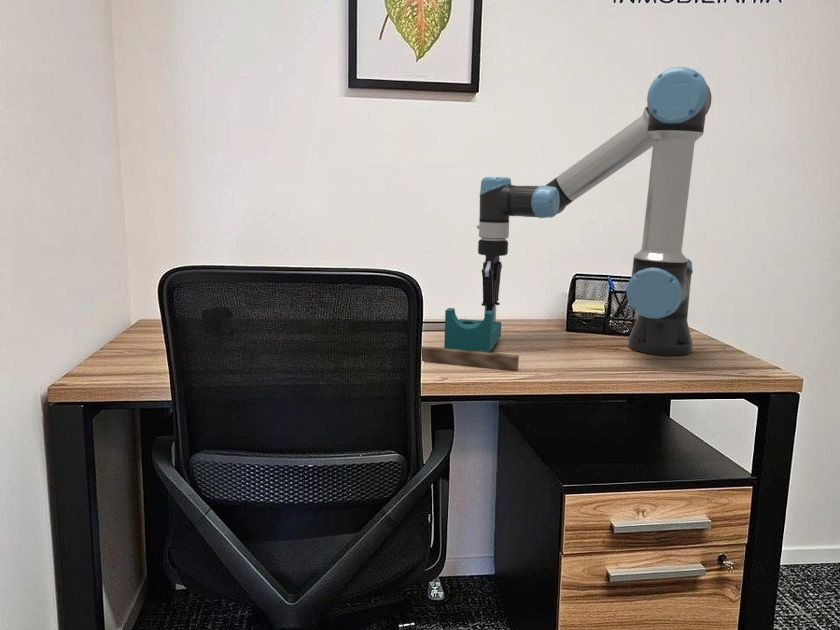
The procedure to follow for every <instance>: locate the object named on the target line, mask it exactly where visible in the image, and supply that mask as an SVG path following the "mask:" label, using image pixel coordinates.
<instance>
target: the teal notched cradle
mask: <svg viewBox="0 0 840 630" xmlns="http://www.w3.org/2000/svg"><path fill="white" fill-rule="evenodd" d="M444 312H445V313H444V314H445V315H444V343H443V348H446V349H457V350H467V351H478V352H488V353H491V351H492V349H493V348H494V346H495V345H496V344H497V342H498V340H499V339H500V338H501V336H502V321H496V322H494V321H493V315H494V311H487V312H486V313H485V312H484V315H485V317H484V316H483V320H479V319H476V320H475V319H463V318H462V319H461V318H458V317H457V314H456V309H455V308H452V307H448V308H447V309H446V310H445V311H444Z"/></svg>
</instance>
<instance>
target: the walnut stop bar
mask: <svg viewBox="0 0 840 630" xmlns="http://www.w3.org/2000/svg"><path fill="white" fill-rule="evenodd" d="M421 347H422V361H421V362H424V363H425V362H427V363H435V364H444V365H445V364H446V365H455V366H465V367H475V368H483V369H485V368H486V369H492V370H493V369H495V370H504V371H514V372H518V370H519V360H520V356H519V355H517V354H507V353H497V352H487V351H475V350H471V351H467V350H457V349H446V348H444V347H433V346H424V345H423V346H421Z"/></svg>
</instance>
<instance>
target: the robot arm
mask: <svg viewBox="0 0 840 630" xmlns="http://www.w3.org/2000/svg"><path fill="white" fill-rule="evenodd" d="M646 102H647V104H646V105H647V106H646V107H645V108H644V109H643V112H642V115H641V116H640V117H638V118H636V119H635V120H634V121H633V122H631V123H630V124H628V125H627V126H626V127H624V128H623V129H621V130H620V131H618V132H617V133H616V134H615V135H613V136H612V137H610V138H609V139H608V140H606V141H605V142H603V143H601V144H600V145H599V146H597V148H595V149H594V150H592V151H591V152H589V153H588V154H587V155H586V156H584V157H582V158H581V159H579V160H578V161H577V162H576V163H574V164H572V165H571V166H570V167H569V168H567V169H566V170H564V171H563V172H562V173H560V174H559V175H558V176H556V177H555V178H554V179H552V180H551V181H549V182H548V183H547V184H545V185H514V184H512V179H511V178H510V177H507V176H506V177H505V176H504V177H503V176H486V177H483V178H482V179H481V182H480V191H479V219H478V221H479V222H478V223H479V224H478V225H476V229H477V230H478V237H479V238H480V239H479V240H478V242H477V243H478V244H477V253H478V254H479V255H481V256H485V258H484V261H483V265H482V269H481V275H482V303H481V307H484V316H483V318H484V317H485V313H486V312H487V311H494V315H493V321H494V322H497V321H496V320H497V306H500V304H501V303H500V302H499V298H500V297H499V294H500V285H501V273H502V268H503V265H502V261H500V260H501V259H500V257H501V256H506V255H508V252H509V242H508V240H507V239H508V238H509V237H510V217H524V218H539V219H545V218H550V219H551V218H554V217H556V215H558V214H560V213H562V212H563V211H565V209H566V207H567V206H569V205H570V204H571V203H573V202H574V201H575V200H577V199H579V198H580V197H581V196H583V195H584V194H586V193H588V191H590V190H591V189H593V188H595V187H596V186H597V185H599V184H601V182H604V180H606V179H607V178H609V177H611V176H612V175H614V174H615V173H616V172H618V171H619V170H620V169H622V168H624V167H625V166H627V165H628V164H629V163H631V162H632V161H634V160H635V159H637V158H638V157H640V156H641V155H642V154H644V153H645V152H647V151H648V150H650V149H651V148H652V153H651V160H650V167H649V168H650V170H649V176H648V177H649V180H648V187H647V195H646V196H647V197H646V204H645V215H644V225H643V233H642V243H641V249H640V250H639V251H638V252H636V253H635V254H634V256H633V261H632V270H631V277H630V279H629V281H628V284H627V286H626V299H627V302H628V304H629V305H630V307H631V308H632V309H633V311H635V313H636V314H637V318H636V319H635V323H634V325H633V327H632V329H631V332H630V334H629V336H628V342H627V343H628V344H627V345H628V348H630V349H632V350H634V351H635V352H641V353H645V354H651V355H657V356H684V355H685V356H686V355H689V354H691V353H692V351H693V340H692V335H691V332H690V328H689V327H690V326H689V323H688V316H689V315H688V313H689V303H690V295H691V294H690V292H691V283H692V281H691V280H692V274H693V271H694V270H693V262H692V261H691V259H689V258H687V256H685V255H684V254H683V252H682V250H683V242H684V233H685V227H686V225H685V224H686V219H687V218H686V217H687V209H688V201H689V193H690V192H689V191H690V184H691V177H692V167H693V161H694V160H693V159H694V153H695V152H694V150H695V144H696V141H697V140H699V139H700V138H702V136H703V135H704V131H705V124H706V116H707V115H708V112H709V110H710V109H711V106H712V105H711V104H712V91H711V89H710V86H709V85H708V84H707V81H706V79H705V78H704V76H703V75H702V73H700V72H699V71H697V70H696V69H692V68H689V67H685V66H676V67H671V68H668V69H666V70H665V71H663V72H661V73H660V74H658V75H657V76H656V77H655V78H654V79H653V81H652V82H651V84H650V86H649V88H648V92H647V96H646Z"/></svg>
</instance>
